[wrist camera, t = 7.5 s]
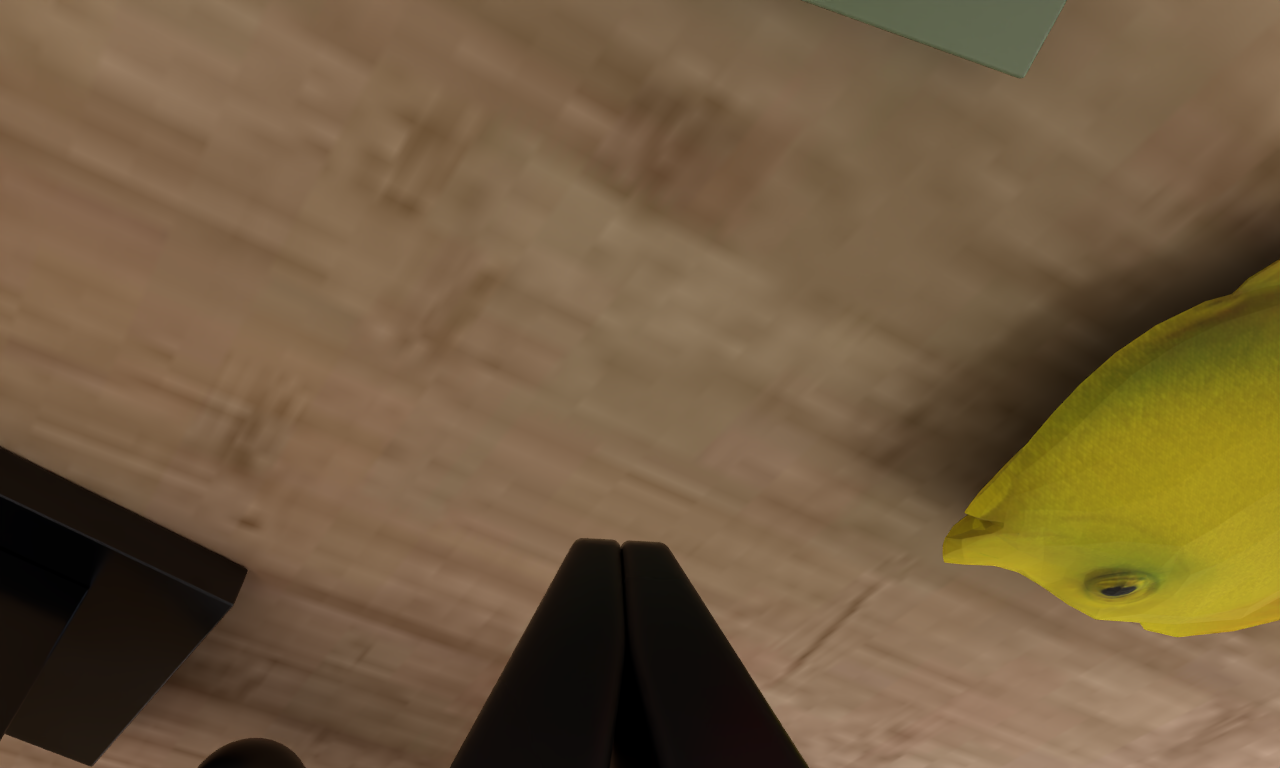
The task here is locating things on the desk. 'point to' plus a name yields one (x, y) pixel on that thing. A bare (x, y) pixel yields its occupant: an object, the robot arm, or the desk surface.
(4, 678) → the bracket
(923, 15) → the button block
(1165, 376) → the fish
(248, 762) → the lever
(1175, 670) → the desk surface
